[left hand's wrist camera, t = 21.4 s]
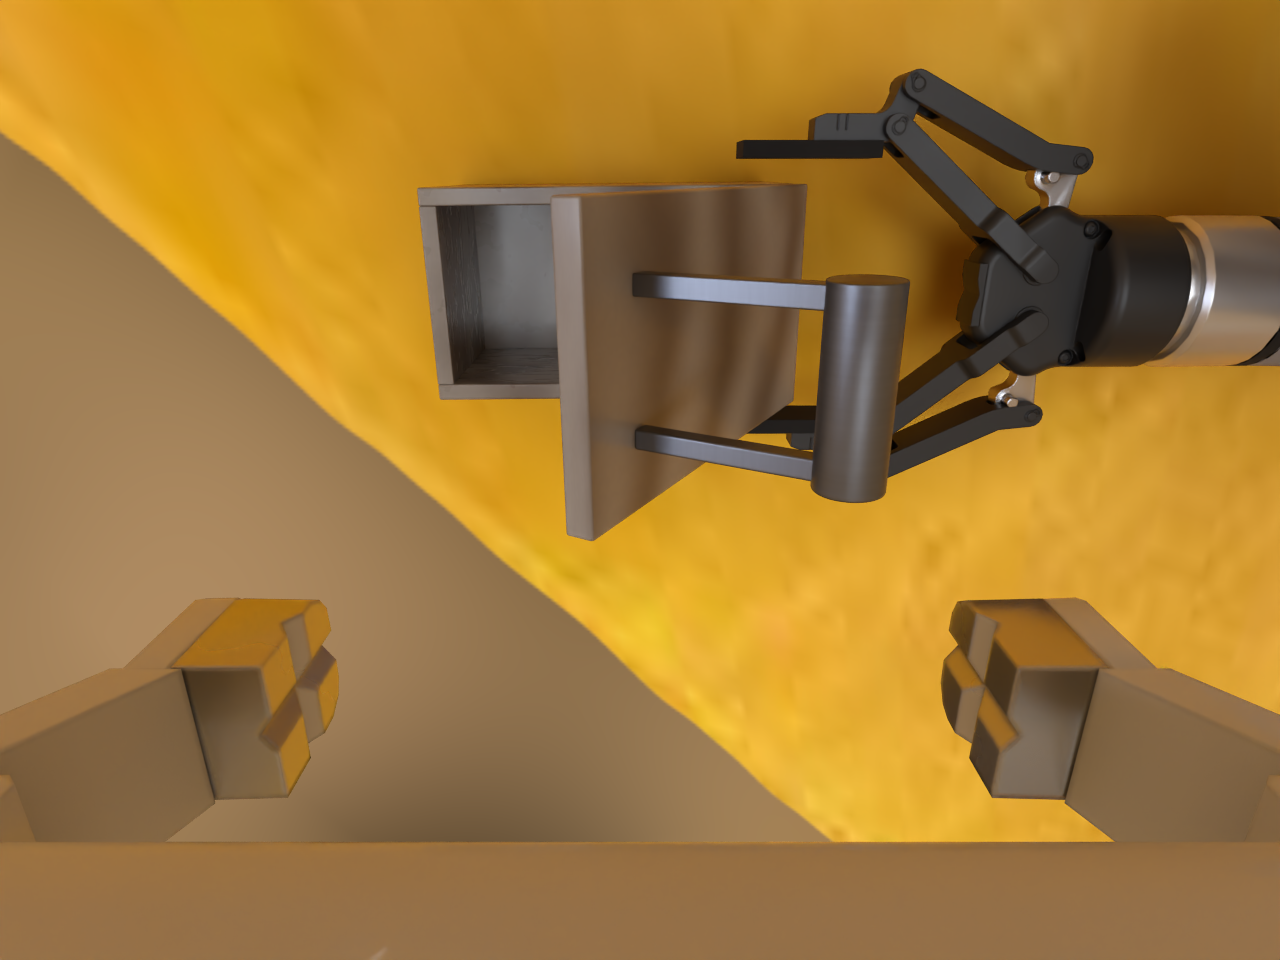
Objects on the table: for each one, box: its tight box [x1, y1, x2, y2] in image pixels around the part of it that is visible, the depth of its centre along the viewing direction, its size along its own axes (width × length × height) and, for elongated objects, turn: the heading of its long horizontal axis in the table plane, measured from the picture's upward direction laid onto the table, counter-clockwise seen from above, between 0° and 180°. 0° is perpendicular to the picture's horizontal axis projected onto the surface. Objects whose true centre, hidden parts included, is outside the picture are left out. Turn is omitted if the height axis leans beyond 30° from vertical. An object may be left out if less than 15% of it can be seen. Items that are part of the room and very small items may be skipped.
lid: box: [550, 184, 910, 541], centre depth 28 cm, size 18×10×9 cm
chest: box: [417, 182, 789, 400], centre depth 42 cm, size 17×10×10 cm, turn 91°
